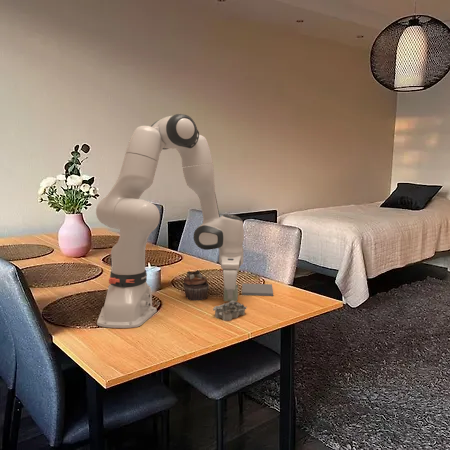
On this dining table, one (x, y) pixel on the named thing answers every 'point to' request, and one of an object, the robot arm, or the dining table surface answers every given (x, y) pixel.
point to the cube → (235, 294)
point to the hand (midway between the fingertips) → (230, 294)
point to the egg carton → (229, 310)
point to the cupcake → (195, 286)
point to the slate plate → (257, 289)
